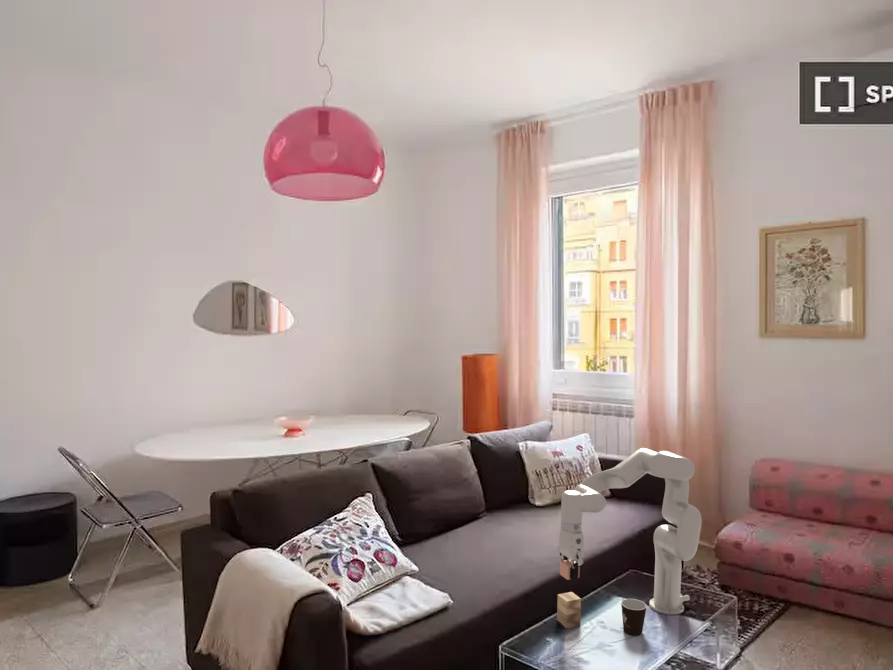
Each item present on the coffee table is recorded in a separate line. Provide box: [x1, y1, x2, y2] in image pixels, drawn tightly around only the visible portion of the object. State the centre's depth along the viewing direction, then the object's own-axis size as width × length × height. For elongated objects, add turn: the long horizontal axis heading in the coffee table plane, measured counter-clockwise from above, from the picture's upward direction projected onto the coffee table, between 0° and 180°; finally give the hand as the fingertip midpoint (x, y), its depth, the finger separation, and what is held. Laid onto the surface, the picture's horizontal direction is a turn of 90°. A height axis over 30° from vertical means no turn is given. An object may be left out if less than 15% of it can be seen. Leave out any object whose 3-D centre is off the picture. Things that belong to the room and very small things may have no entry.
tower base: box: [556, 608, 581, 629], centre depth 242 cm, size 6×6×5 cm
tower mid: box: [556, 591, 582, 615], centre depth 241 cm, size 6×6×5 cm
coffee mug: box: [620, 598, 648, 637], centre depth 238 cm, size 12×9×10 cm
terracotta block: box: [559, 559, 581, 581], centre depth 240 cm, size 5×5×5 cm
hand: (569, 574), depth 241 cm, fingers closed on terracotta block, 5 cm apart
